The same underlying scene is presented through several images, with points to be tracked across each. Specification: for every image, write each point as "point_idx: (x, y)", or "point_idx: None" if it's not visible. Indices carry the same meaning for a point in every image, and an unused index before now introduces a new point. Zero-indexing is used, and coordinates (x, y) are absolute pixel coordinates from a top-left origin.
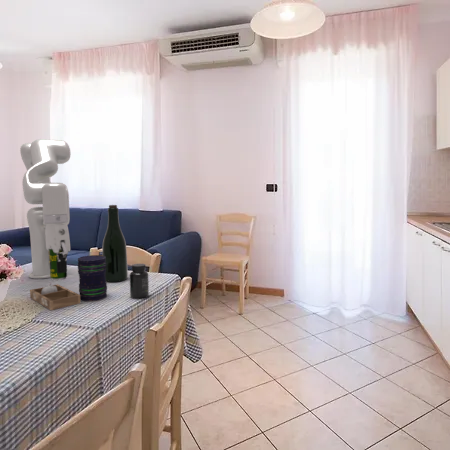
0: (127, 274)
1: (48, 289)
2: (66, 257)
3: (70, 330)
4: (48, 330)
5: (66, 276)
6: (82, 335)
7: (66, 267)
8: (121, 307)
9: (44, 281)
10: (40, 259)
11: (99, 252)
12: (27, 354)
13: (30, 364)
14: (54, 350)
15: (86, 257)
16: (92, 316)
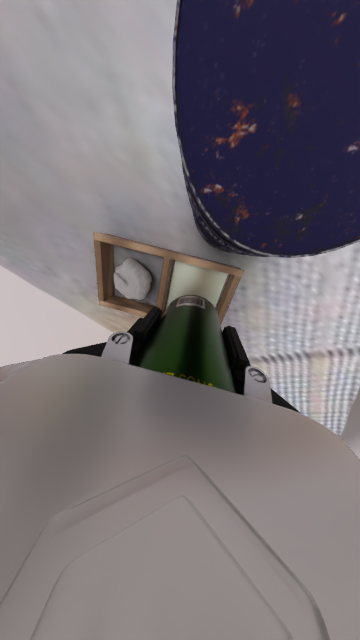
0: None
1: (140, 293)
2: (294, 408)
3: (320, 366)
4: (282, 375)
5: (214, 307)
6: (355, 372)
7: (237, 337)
8: None
9: None
10: None
11: None
12: (308, 414)
13: (329, 424)
14: (337, 404)
15: (241, 85)
16: (327, 313)
